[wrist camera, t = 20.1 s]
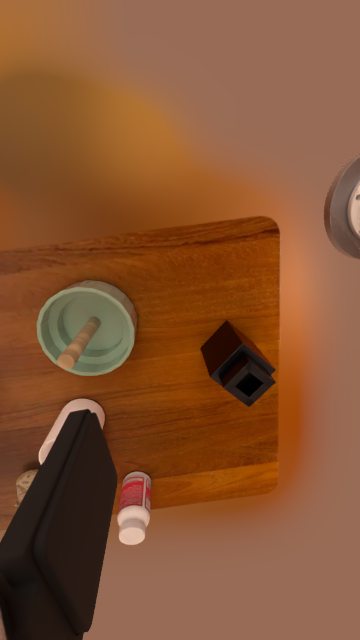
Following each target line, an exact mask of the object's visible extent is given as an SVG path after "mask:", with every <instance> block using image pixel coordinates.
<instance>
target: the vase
mask: <svg viewBox="0 0 360 640" xmlns="http://www.w3.org/2000/svg"><path fill="white" fill-rule="evenodd" d="M201 351H202V354H203V357H204V360H205V363H206V366H207V369H208V372H209V375H210V377H211V378H212V379H213V380H215V381H216V382H217V383H219V384H220V385H221V386H223V388H224V389H225V390H227V391H228V392H230V393H231V394H232V395H234V396H235V397H236V398H238V399H239V400H240V401H242V402H243V403H244V404H246V405H247V406H248V407H250V406H251V405H252V404H253V403H254V402H255V401H256V400H257V399H258V398H260V397H261V396H262V395H263V394H264V393H265V392H266V391H267V390H268V389H269V388H270V387H271V386H272V385H273V384H274V383H275V380H274V379H273V378H272V376H271V374H272V373H273V372H274V371H275V368H274V367H273V366H272V365H271V364H270V362H269V361H268V360H267V359H266V357H265V356H264V355H263V354H262V353H261V351H260V350H259V349H258V348H257V346H256V345H255V344H254V343H253V342H252V341H251V340H250V339H248V338H247V337H246V336H245V335H244V334H243V333H241V332H240V331H239V330H238V329H237V328H235V327H234V326H233V325H232V324H231V323H229V322H228V321H227V320H226V321H225V323H224V324H223V325H222V326H221V327H220V328H219V329H218V330H217V331H216V332H215V333H214V334H213V335H212V336H211V338H210V339H209V340H208V341H207V342H206V343H205V344H204V345H203V346H202V347H201Z"/></svg>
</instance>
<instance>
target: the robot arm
mask: <svg viewBox="0 0 360 640" xmlns="http://www.w3.org/2000/svg"><path fill="white" fill-rule="evenodd" d="M347 217H348V223H349V226H350V228H351V230H352V232H353V233H354V235H355V236H356V237H357V238H359V239H360V180H359V182H358V183H357V185H356V186H355V188H354V190H353V192H352V194H351V196H350V200H349V203H348V209H347ZM116 488H117V473H116V469H115V466H114V464H113V461H112V458H111V455H110V452H109V449H108V446H107V443H106V440H105V437H104V434H103V431H102V428H101V425H100V422H99V419H98V416H97V414H96V413H95V412H93V413H91V411H90V410H89V409H84V410H78V411H73V412H70V413H69V414H68V416H67V418H66V420H65V422H64V424H63V426H62V428H61V430H60V432H59V434H58V436H57V437H56V439H55V441H54V443H53V445H52V447H51V449H50V451H49V453H48V455H47V457H46V459H45V461H44V462H43V463H42V465H41V466H40V467H39V469H38V471H37V473H36V475H35V477H34V479H33V481H32V483H31V485H30V486H29V488H28V490H27V492H26V494H25V496H24V498H23V500H22V502H21V504H20V506H19V508H18V509H17V511H16V513H15V515H14V517H13V519H12V521H11V523H10V525H9V527H8V529H7V531H6V533H5V535H4V537H3V538H2V540H1V542H0V640H82V639H83V634H84V632H88V631H89V629H90V627H91V624H92V620H93V615H94V609H95V604H96V598H97V593H98V587H99V581H100V576H101V571H102V565H103V559H104V554H105V549H106V542H107V537H108V532H109V527H110V521H111V516H112V510H113V504H114V499H115V493H116Z"/></svg>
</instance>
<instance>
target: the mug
mask: <svg viewBox="0 0 360 640" xmlns="http://www.w3.org/2000/svg"><path fill="white" fill-rule="evenodd" d="M84 409H89V410H90V411H91V413H93V412H95V413H96V414H97V416H98V419H99V422H100V425H101V428H102V429H103V426H104V421H105V414H104V411H103V409H102V408H101V406H100V405H99V404H97V403H96V402H94V401H92V400H89V399H76V400H73V401H71V402H69V403H68V404H67V405H66V406H65V407H64V408H63V409H62V411H61V413H60V415H59V416H58V418H57V420H56V422H55V424H54V425H53V427H52V429H51V431H50V433H49V434H48V436H47V438H46V440H45V442H44V443H43V445H42V447H41V449H40V451H39V461H40V464H41V465H42V463H43V462H44V461H45V459H46V457H47V455H48V453H49V451H50V449H51V447H52V445H53V443H54V441H55V439H56V437H57V436H58V434H59V432H60V430H61V428H62V426H63V424H64V422H65V420H66V418H67V416H68V414H69V413H70V412H73V411H78V410H84Z"/></svg>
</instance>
